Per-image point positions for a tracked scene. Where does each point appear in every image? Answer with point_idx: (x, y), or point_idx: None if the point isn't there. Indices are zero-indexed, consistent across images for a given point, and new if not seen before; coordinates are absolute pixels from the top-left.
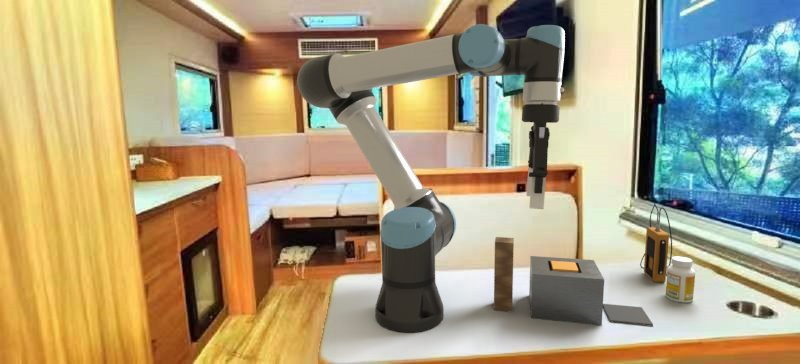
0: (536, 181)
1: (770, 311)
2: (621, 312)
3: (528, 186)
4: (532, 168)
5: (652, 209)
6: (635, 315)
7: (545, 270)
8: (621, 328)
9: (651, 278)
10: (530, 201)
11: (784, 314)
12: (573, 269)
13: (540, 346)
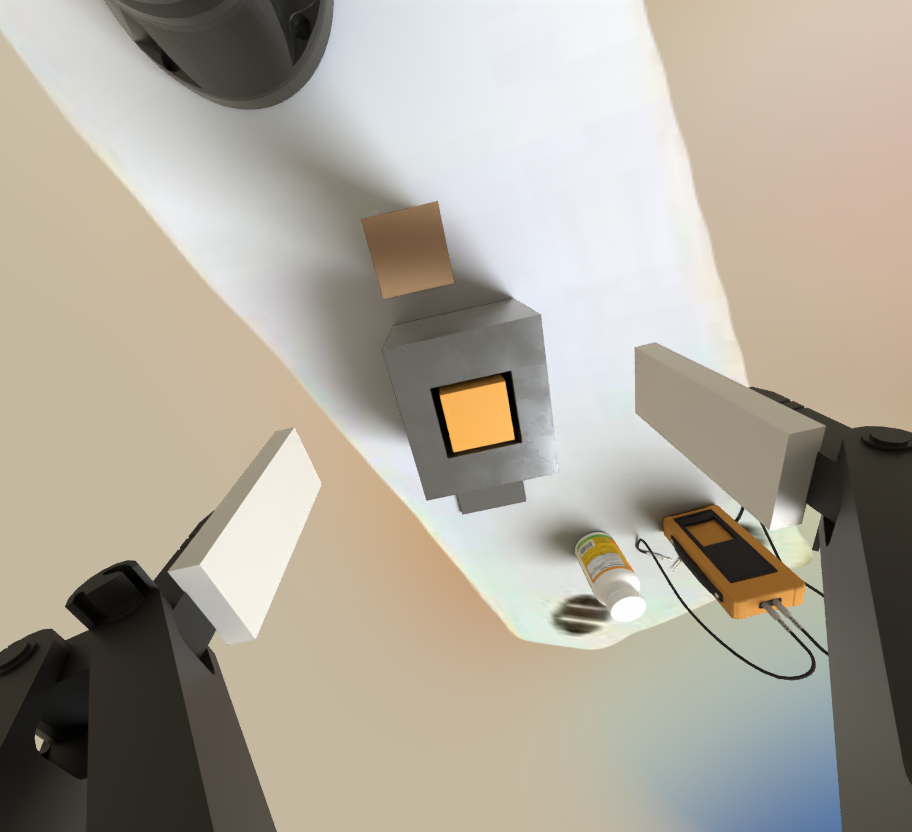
0: (162, 582)
1: (579, 631)
2: None
3: (670, 376)
4: (812, 463)
5: None
6: (485, 493)
7: (426, 377)
8: None
9: (676, 516)
10: (261, 453)
11: (574, 641)
12: (455, 441)
13: (288, 362)
